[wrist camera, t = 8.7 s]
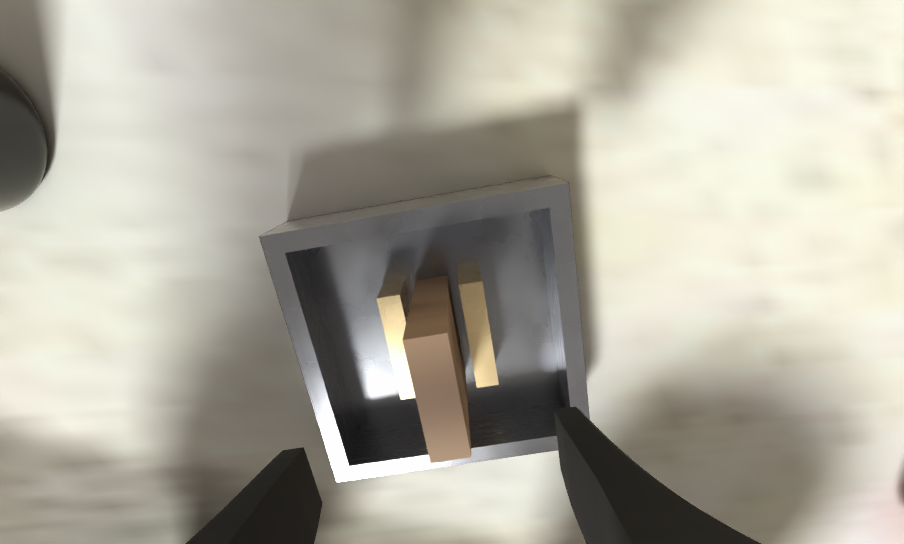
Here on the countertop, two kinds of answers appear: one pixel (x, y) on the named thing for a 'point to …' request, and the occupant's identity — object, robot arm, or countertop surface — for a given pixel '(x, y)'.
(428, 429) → the tan wooden brick
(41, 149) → the supplement bottle
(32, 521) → the countertop surface
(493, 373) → the square metal tray
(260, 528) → the robot arm
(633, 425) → the countertop surface
